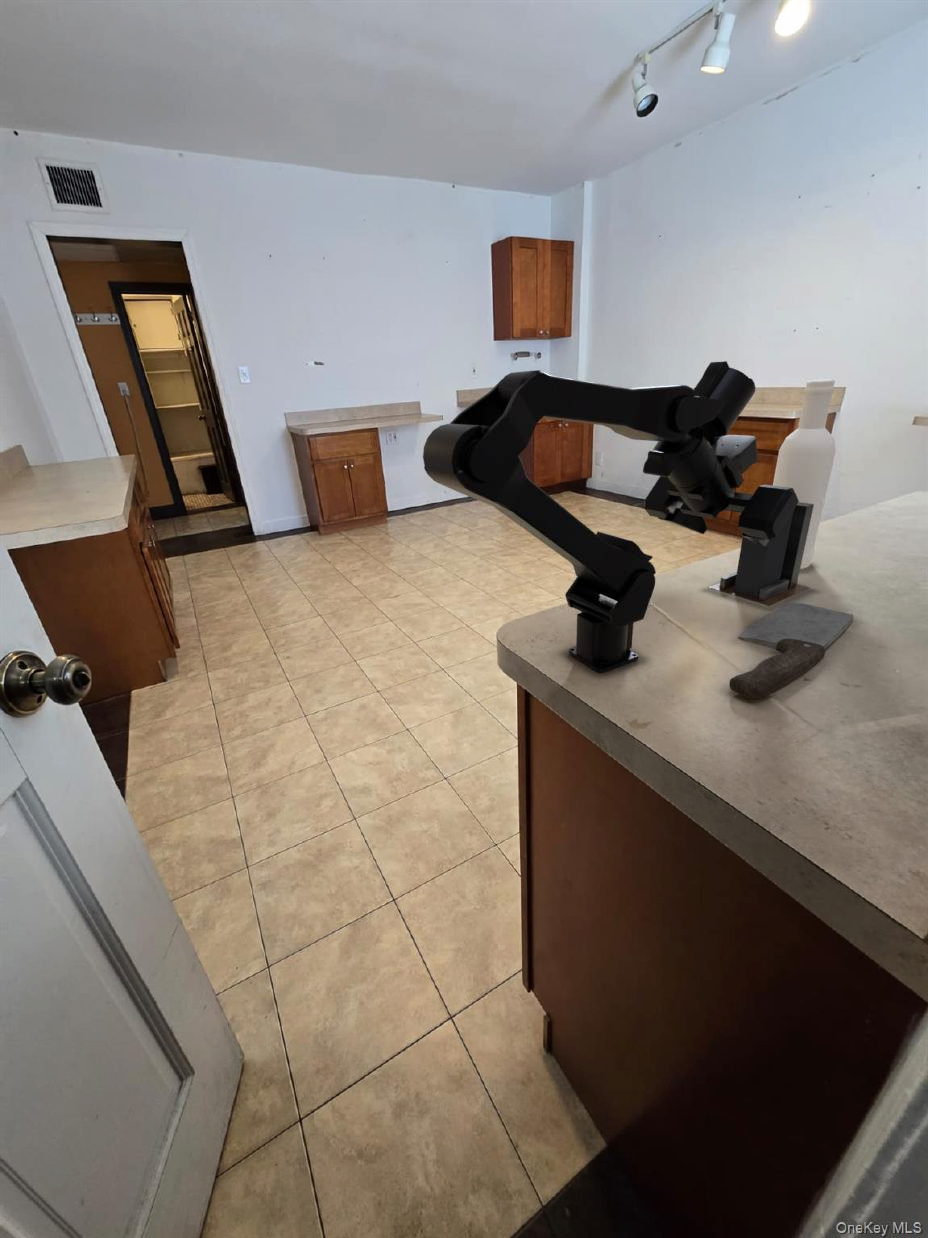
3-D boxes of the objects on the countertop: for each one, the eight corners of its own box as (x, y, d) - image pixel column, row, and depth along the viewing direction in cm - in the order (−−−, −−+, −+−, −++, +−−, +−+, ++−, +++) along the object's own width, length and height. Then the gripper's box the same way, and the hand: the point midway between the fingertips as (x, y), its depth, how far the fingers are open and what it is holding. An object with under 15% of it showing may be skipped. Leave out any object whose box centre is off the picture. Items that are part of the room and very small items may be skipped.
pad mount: (768, 609, 75) (786, 518, 70) (707, 590, 83) (719, 507, 78) (809, 590, 80) (828, 504, 75) (748, 574, 88) (761, 495, 83)
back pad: (757, 599, 78) (773, 514, 72) (733, 591, 81) (746, 509, 75) (777, 591, 80) (794, 508, 74) (753, 583, 83) (767, 503, 77)
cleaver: (778, 712, 53) (783, 695, 52) (687, 679, 60) (689, 664, 59) (856, 621, 71) (860, 607, 70) (779, 603, 77) (781, 590, 76)
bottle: (766, 555, 96) (798, 379, 84) (814, 562, 91) (857, 376, 79) (752, 567, 91) (784, 382, 79) (803, 575, 86) (846, 379, 74)
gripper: (807, 415, 56) (835, 499, 65) (664, 413, 71) (705, 482, 80) (752, 499, 56) (789, 571, 65) (621, 480, 70) (666, 542, 80)
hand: (733, 537), depth 73 cm, fingers open, 9 cm apart
